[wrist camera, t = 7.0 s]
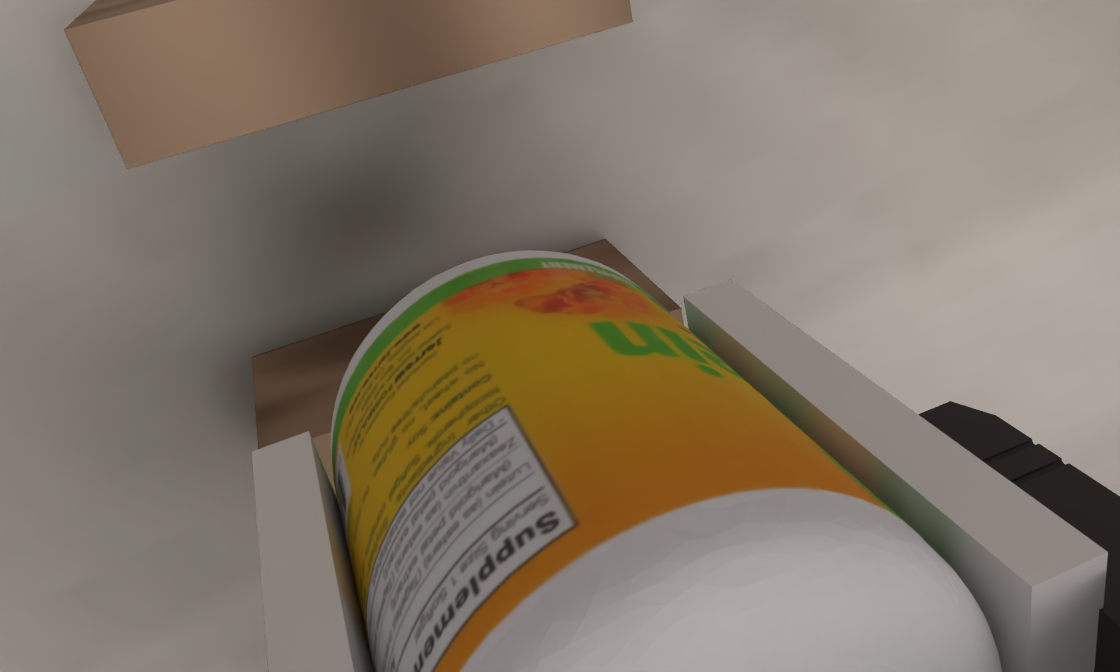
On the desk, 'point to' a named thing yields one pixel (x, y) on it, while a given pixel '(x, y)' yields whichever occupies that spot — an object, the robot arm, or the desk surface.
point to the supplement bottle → (610, 498)
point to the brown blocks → (303, 111)
